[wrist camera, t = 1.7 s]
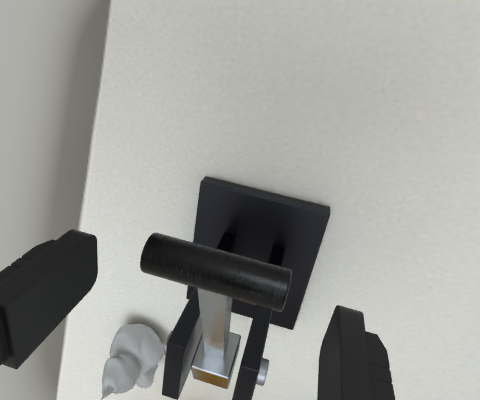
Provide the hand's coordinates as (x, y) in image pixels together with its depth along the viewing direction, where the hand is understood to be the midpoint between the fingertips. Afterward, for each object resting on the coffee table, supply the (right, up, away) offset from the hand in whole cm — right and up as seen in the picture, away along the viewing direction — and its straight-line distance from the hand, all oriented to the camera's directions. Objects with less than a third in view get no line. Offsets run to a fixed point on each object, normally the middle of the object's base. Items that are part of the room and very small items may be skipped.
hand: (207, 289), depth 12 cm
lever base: (+2, -2, +19) cm, 19 cm away
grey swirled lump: (-9, -12, +27) cm, 31 cm away
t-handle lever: (0, -2, +6) cm, 7 cm away
